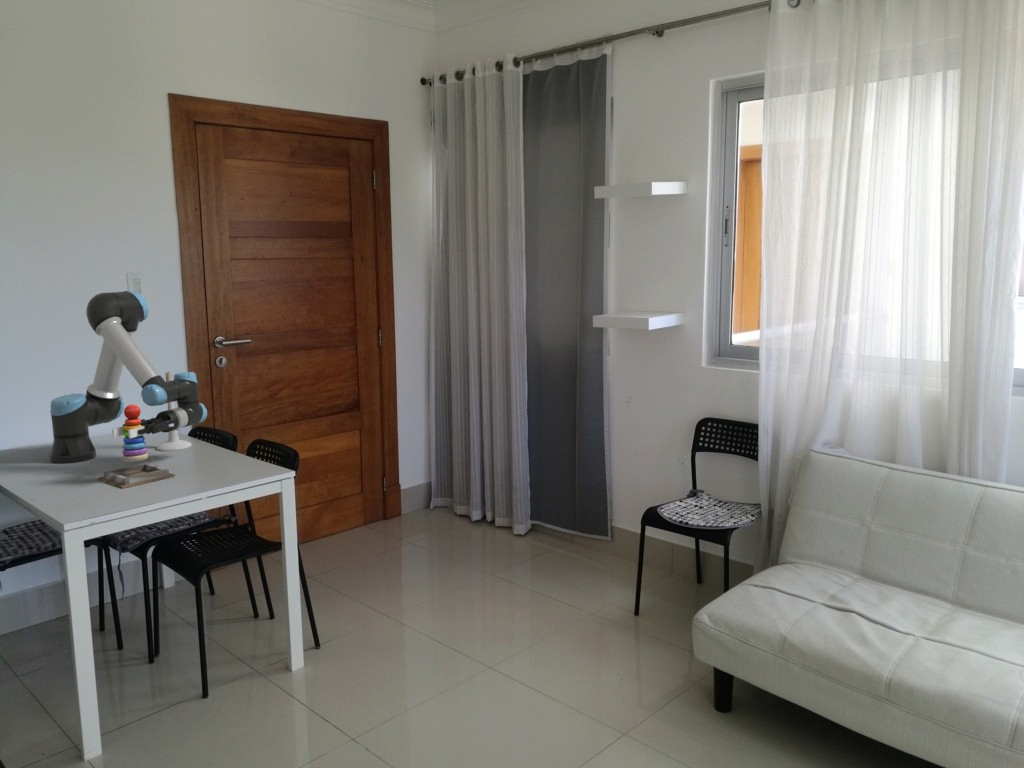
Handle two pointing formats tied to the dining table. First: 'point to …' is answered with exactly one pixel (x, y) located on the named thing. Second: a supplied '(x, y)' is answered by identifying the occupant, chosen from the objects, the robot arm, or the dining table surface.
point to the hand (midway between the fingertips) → (121, 433)
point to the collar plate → (135, 475)
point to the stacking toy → (136, 445)
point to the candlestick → (173, 433)
